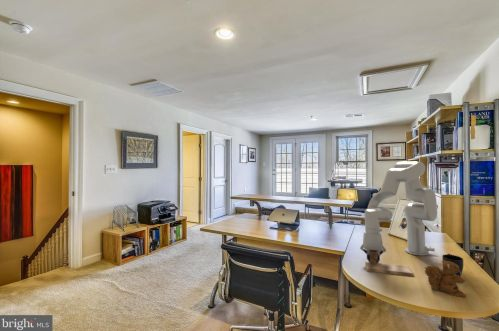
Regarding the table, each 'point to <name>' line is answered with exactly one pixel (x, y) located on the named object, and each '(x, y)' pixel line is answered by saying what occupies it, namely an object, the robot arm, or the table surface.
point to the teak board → (389, 268)
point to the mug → (454, 261)
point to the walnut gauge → (373, 256)
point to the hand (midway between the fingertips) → (373, 261)
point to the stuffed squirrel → (445, 278)
